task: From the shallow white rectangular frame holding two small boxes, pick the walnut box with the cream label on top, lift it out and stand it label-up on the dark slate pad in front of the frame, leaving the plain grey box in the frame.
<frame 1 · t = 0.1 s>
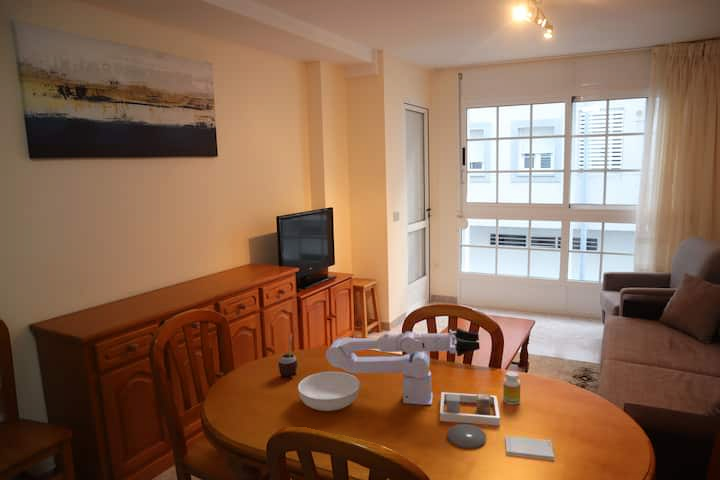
hand: (479, 341, 159), 22 cm above the table, tool horizontal, fingers open, 7 cm apart
labelled walnut box: (483, 412, 157), resting in white rectangular frame
serving bowl: (329, 403, 166), on the table
slate pad: (466, 437, 143), on the table
mate gourd: (288, 376, 187), on the table
hard drive: (528, 451, 137), on the table
supplement bottle: (511, 401, 163), on the table
plain grey box: (453, 413, 157), resting in white rectangular frame
white rectangular frame: (469, 411, 157), on the table
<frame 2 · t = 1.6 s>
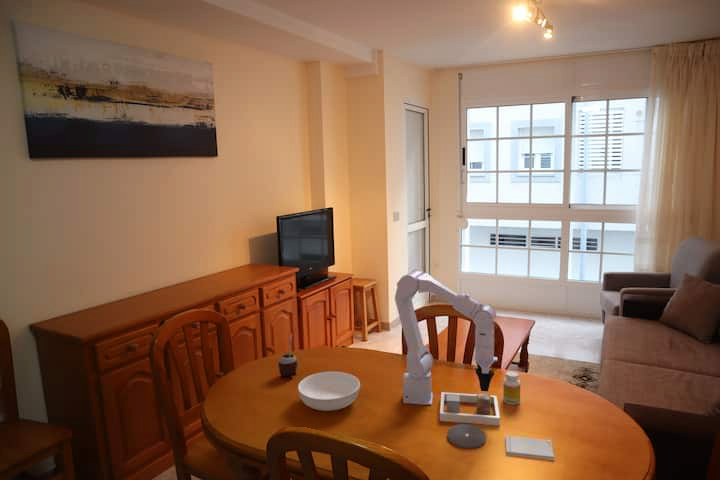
hand: (483, 385, 155), 9 cm above the table, tool pointing down, fingers open, 7 cm apart
nothing on the table moved.
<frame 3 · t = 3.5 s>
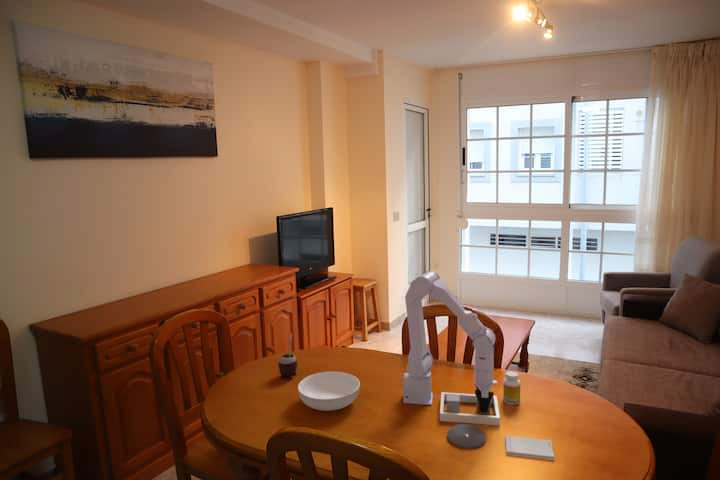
hand: (483, 408, 156), 2 cm above the table, tool pointing down, fingers closed on labelled walnut box, 4 cm apart
labelled walnut box: (483, 412, 157), resting in white rectangular frame, touching gripper
everything else where it was.
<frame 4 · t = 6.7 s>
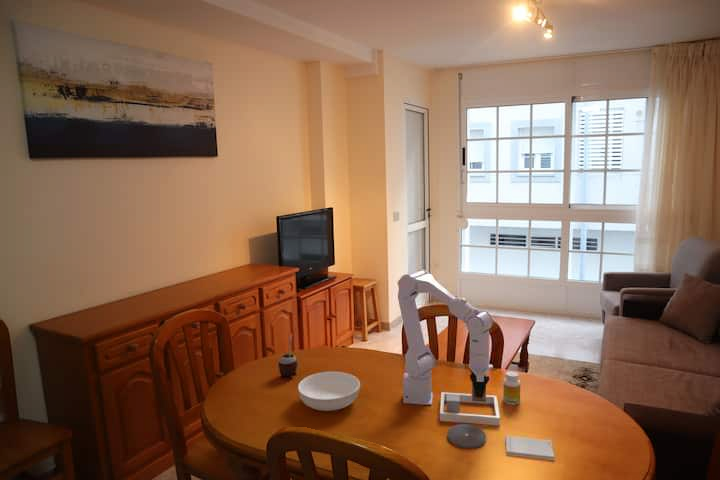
hand: (478, 393, 151), 9 cm above the table, tool pointing down, fingers closed on labelled walnut box, 4 cm apart
labelled walnut box: (478, 398, 151), point 7 cm above the table, touching gripper
everything else where it was.
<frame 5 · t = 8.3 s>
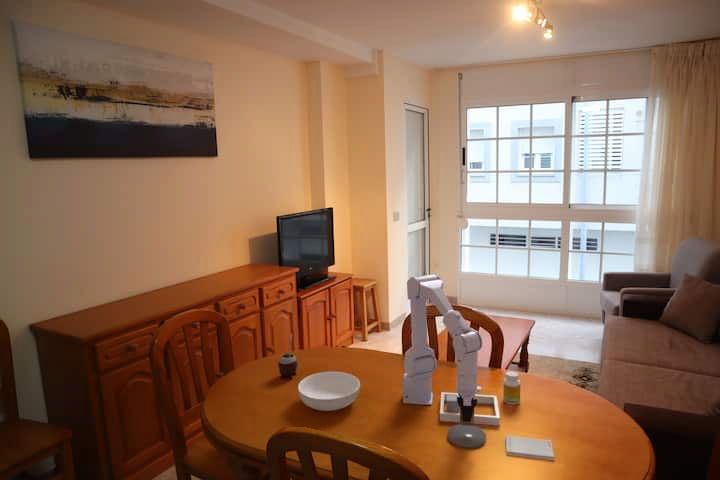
hand: (466, 416, 142), 7 cm above the table, tool pointing down, fingers closed on labelled walnut box, 4 cm apart
labelled walnut box: (466, 421, 142), point 5 cm above the table, touching gripper
everything else where it was.
when the fingers open (4 cm above the table, at t = 9.7 s): labelled walnut box stays where it is, resting on slate pad.
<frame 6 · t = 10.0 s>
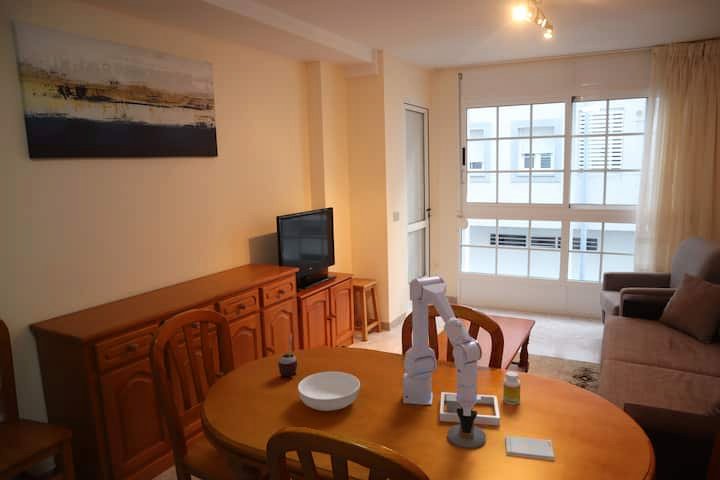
hand: (466, 426, 143), 4 cm above the table, tool pointing down, fingers open, 6 cm apart
labelled walnut box: (466, 434, 143), point 1 cm above the table, touching slate pad
everything else where it was.
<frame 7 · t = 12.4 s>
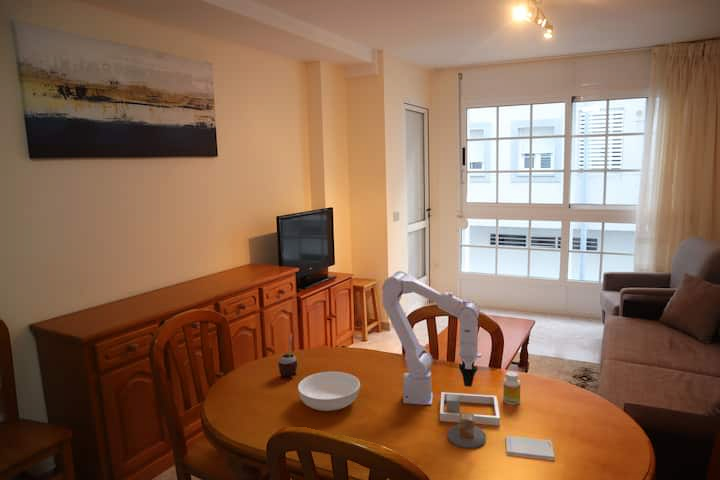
hand: (468, 380, 158), 9 cm above the table, tool pointing down, fingers open, 7 cm apart
nothing on the table moved.
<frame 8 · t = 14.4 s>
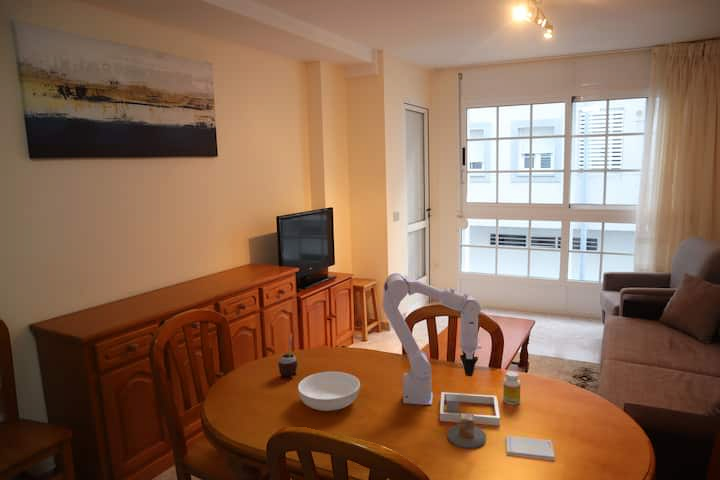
hand: (468, 370, 166), 9 cm above the table, tool pointing down, fingers open, 7 cm apart
nothing on the table moved.
at the end: labelled walnut box 0.1 cm off-centre on the slate pad, point 1.0 cm above the slate pad's base; labelled walnut box tilted 0°; plain grey box moved 0.1 cm from its start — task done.
